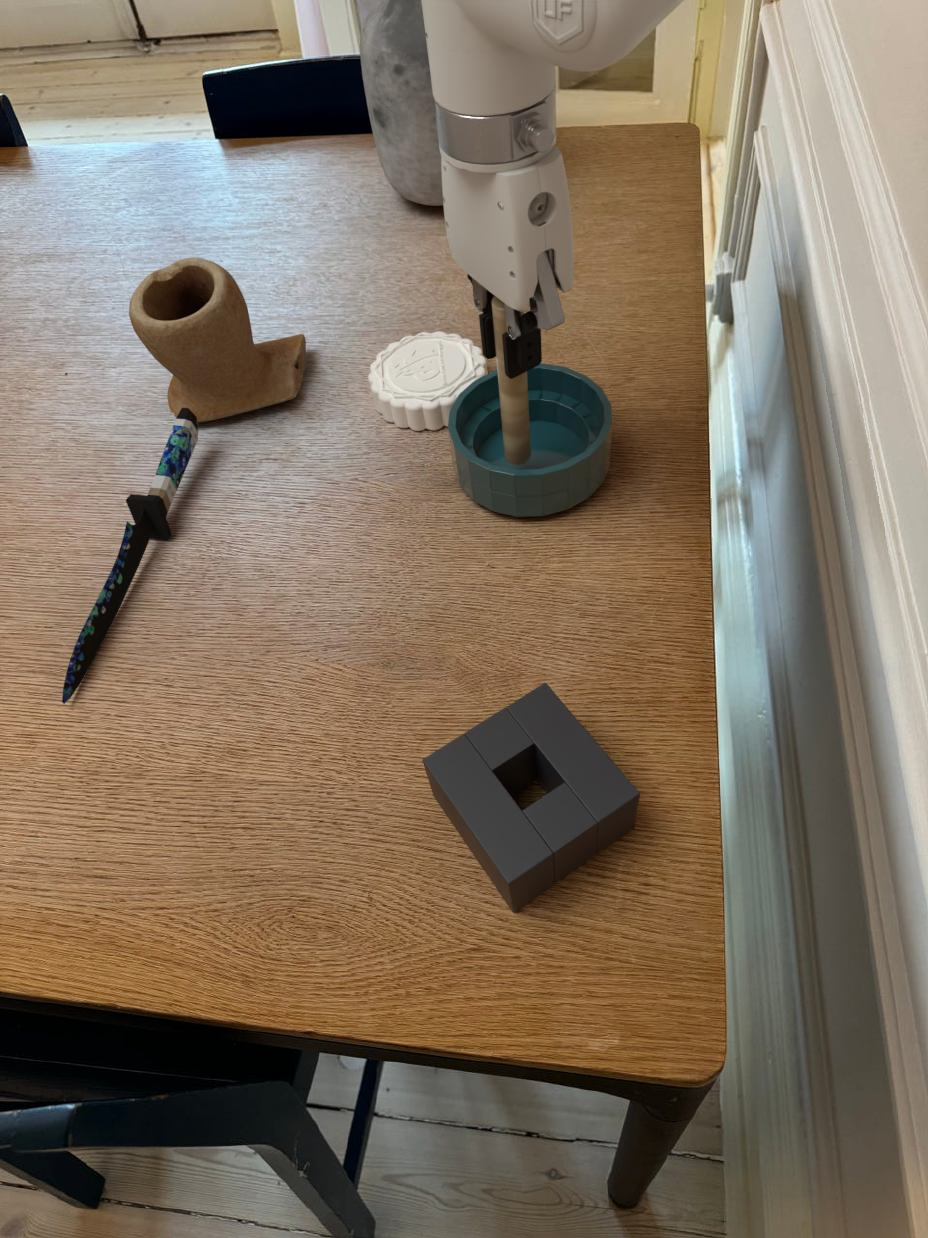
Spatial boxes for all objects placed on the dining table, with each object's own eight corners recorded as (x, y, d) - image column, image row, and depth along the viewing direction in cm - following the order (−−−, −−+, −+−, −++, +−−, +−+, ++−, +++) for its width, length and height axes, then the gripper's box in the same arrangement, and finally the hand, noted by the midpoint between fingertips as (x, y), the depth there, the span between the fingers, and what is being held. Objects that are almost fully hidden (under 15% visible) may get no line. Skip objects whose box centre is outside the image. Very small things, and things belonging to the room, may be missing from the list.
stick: (521, 442, 78) (511, 286, 65) (536, 457, 77) (529, 300, 64) (499, 454, 77) (485, 298, 64) (514, 469, 76) (503, 313, 63)
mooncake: (371, 363, 91) (364, 335, 88) (482, 347, 91) (479, 318, 88) (375, 440, 84) (368, 412, 81) (495, 422, 84) (493, 394, 81)
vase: (401, 160, 116) (356, -123, 92) (517, 160, 113) (503, -133, 88) (370, 225, 107) (312, -69, 83) (496, 227, 104) (473, -77, 80)
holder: (547, 722, 64) (545, 681, 59) (634, 828, 59) (640, 793, 54) (433, 796, 62) (421, 759, 57) (513, 913, 56) (508, 884, 51)
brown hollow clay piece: (171, 450, 86) (106, 323, 74) (173, 377, 93) (114, 250, 81) (318, 420, 87) (278, 289, 74) (310, 350, 94) (271, 219, 81)
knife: (195, 433, 85) (176, 402, 82) (222, 437, 85) (204, 405, 81) (53, 710, 72) (22, 688, 68) (84, 716, 71) (54, 694, 67)
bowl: (548, 393, 86) (547, 343, 81) (641, 473, 78) (646, 424, 73) (427, 456, 82) (418, 408, 77) (512, 547, 74) (508, 500, 70)
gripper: (625, 143, 50) (612, 391, 65) (475, 60, 59) (494, 296, 74) (521, 190, 48) (532, 434, 63) (382, 98, 57) (421, 332, 72)
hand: (512, 358), depth 68 cm, fingers closed on stick, 2 cm apart
